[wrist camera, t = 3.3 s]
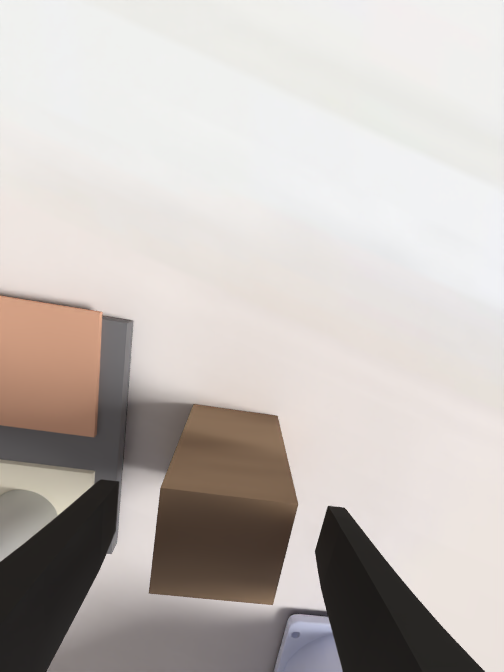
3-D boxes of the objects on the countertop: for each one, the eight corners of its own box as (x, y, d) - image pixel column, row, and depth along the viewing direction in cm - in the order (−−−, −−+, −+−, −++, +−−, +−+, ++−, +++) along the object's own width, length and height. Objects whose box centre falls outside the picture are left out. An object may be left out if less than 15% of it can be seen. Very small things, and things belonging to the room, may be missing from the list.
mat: (116, 554, 14) (108, 570, 13) (-43, 538, 14) (-60, 554, 13) (133, 313, 11) (125, 316, 10) (-67, 281, 11) (-91, 282, 10)
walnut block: (262, 485, 13) (272, 604, 9) (184, 475, 13) (148, 593, 8) (277, 415, 13) (298, 504, 8) (193, 403, 12) (160, 487, 7)
